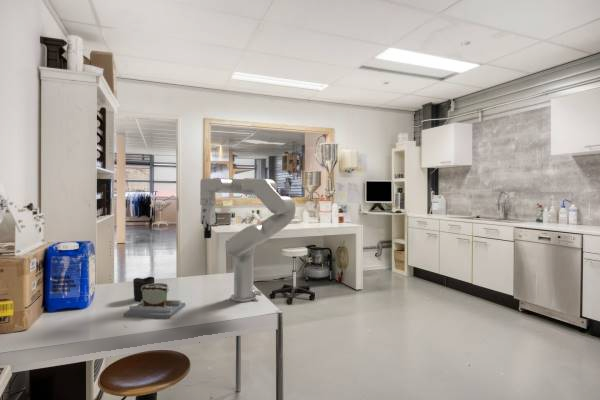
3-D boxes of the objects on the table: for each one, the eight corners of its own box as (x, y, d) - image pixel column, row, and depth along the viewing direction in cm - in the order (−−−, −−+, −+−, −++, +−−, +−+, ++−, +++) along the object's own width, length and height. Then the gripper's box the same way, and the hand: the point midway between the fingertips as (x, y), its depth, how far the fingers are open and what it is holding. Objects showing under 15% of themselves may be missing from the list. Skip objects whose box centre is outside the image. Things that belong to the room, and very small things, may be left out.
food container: (174, 305, 154) (174, 283, 154) (167, 310, 148) (167, 287, 148) (148, 304, 155) (148, 282, 155) (140, 308, 149) (140, 285, 149)
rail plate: (185, 305, 158) (185, 298, 158) (169, 318, 142) (169, 310, 142) (143, 304, 160) (143, 297, 160) (123, 316, 144) (123, 308, 144)
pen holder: (146, 302, 162) (146, 281, 162) (128, 301, 164) (128, 280, 164) (158, 297, 171) (158, 277, 171) (141, 295, 173) (141, 276, 173)
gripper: (210, 202, 168) (210, 240, 169) (219, 202, 183) (219, 236, 184) (195, 202, 169) (195, 239, 169) (205, 202, 184) (205, 236, 184)
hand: (207, 237), depth 176 cm, fingers closed
